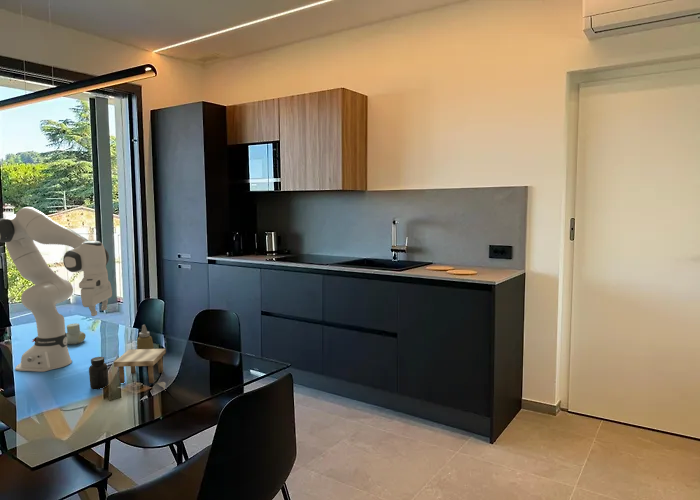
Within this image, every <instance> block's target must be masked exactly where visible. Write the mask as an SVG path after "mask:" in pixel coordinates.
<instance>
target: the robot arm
mask: <svg viewBox="0 0 700 500" xmlns="http://www.w3.org/2000/svg"><path fill="white" fill-rule="evenodd" d="M34 241H35V242H37V243H39V244H42V245H58V246H59V245H61V246H68V247H70V248H72V249H69V250H67V251H66V252H65V253H64V255H63V266H64V267H65V269H66V270H67V271H68V272H71V273H80V272H83V277H82V279H81V281H80V282H79V283H78V288H79V289H80V299H81V304H82V307H84V308H88V309H89V311H90V314H91V316H92V317H95V316H97V315H98V310H96V307H97V306H96V305H98V304H100V303H101V311H106V310H108V302H109V299H110V298H112V296H113V288H112V284H111V281H110V280H109V273H108V269H107V265H108V263H109V261H110V254H109V252H108V250H107V249H106V248H105V246H104V244H103V243H102V242H101V241H99V240H89V239H87V238H85V237H84V236H82V235H81V234H79V233H78V232H76V231H74V230H73V229H70V228H68V227H66V226H64V225H61V224H60V223H58V222H56V221H54V220H53V219H52V218H51V217H49V216H48V215H46V214H45V213H43V212H42V211H40V210H38V209H36V208H34V207H32V206H25V207H21V208H19V210H18V211H17V212H16V213H13V214H11V215H8V216H5V217H3V218H0V243H1V244H2V243H5V246H6V249H7V251H8V254H9V256H10V259H11V260H12V263H13V264H14V265H15V267H16V269H17V271H18V272H19V274H20V276H21V277H22V278H24V279H25V280H28V281H30V282H31V283H32V284H34V285H32V286H30V287H28V288H27V289H25V290H24V291H23V292H22V294H21V297H20V299H21V303H22V306H24V307H25V308H26V309H28V310H29V311H31V313H32V315H33V316H34V319H35V323H36V324H35V325H36V331H37V336H35V337H34V338H33V339H32V340H31V342H32V343H33V342H34V344H33V345H32V346H31V347H30V348H28V349H27V350H26V351H24V353H23V354H22V356H21V359H20V363H18V364H17V365H16V366H15V368H14V369H15V371H21V372H22V371H25V372H39V373H40V372H42V373H43V372H47V371H51V370H56V369H60V368H63V367H66V366H69V365H70V364H71V363H72V362H73V359H71V356H70V353H69V349H68V344H67V331H66V323H65V321H66V320H65V317H64V316H63V314H60V313H59V312H58V309H57V306H56V305H57V304H60V303H63V302H65V301H66V300H68V299H69V298H70V297H72V295H73V292H74V288H73V287H74V286H73V284H72V283H71V282H70V281H68V279H67V280H66V279H64V278H63V277H60V276H59V275H58V274H57V273H56V272H54V270H53V269H52V268H50V266H49V265H48V263H47V262H46V260H45V259H44V257H43V255H42V254H41V252H40V250H39V248H38V247H37V246H36V244H35V242H34Z"/></svg>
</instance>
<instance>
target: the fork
mask: <svg viewBox="0 0 700 500" xmlns="http://www.w3.org/2000/svg"><path fill="white" fill-rule="evenodd" d="M155 385H158V386H159V387H161V388H163V390H165V388H166V385H167V383H166V382H165V381H159V382H157V383H155Z"/></svg>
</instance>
